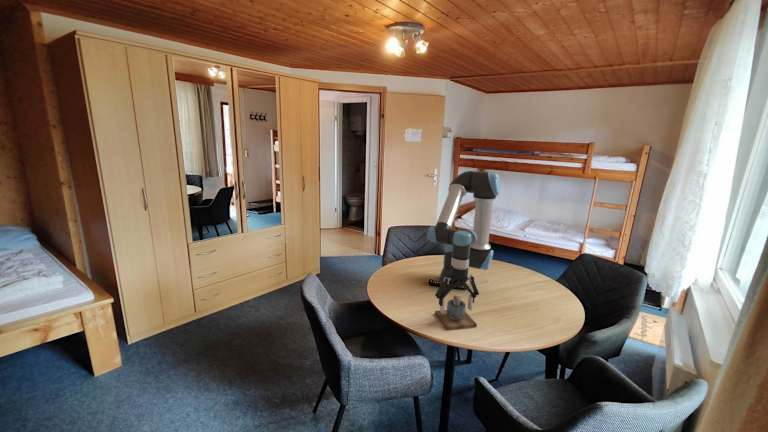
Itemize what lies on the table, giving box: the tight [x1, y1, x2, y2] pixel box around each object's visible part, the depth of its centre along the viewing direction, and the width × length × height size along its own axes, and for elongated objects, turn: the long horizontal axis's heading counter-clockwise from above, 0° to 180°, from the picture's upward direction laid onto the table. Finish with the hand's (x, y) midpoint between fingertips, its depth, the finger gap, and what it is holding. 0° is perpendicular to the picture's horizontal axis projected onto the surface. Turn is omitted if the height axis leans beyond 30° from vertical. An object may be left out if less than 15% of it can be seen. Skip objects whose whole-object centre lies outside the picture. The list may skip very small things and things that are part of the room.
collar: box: [446, 298, 467, 318], centre depth 148 cm, size 7×7×5 cm
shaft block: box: [434, 295, 478, 331], centre depth 148 cm, size 14×14×12 cm
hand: (455, 310), depth 148 cm, fingers open, 13 cm apart
